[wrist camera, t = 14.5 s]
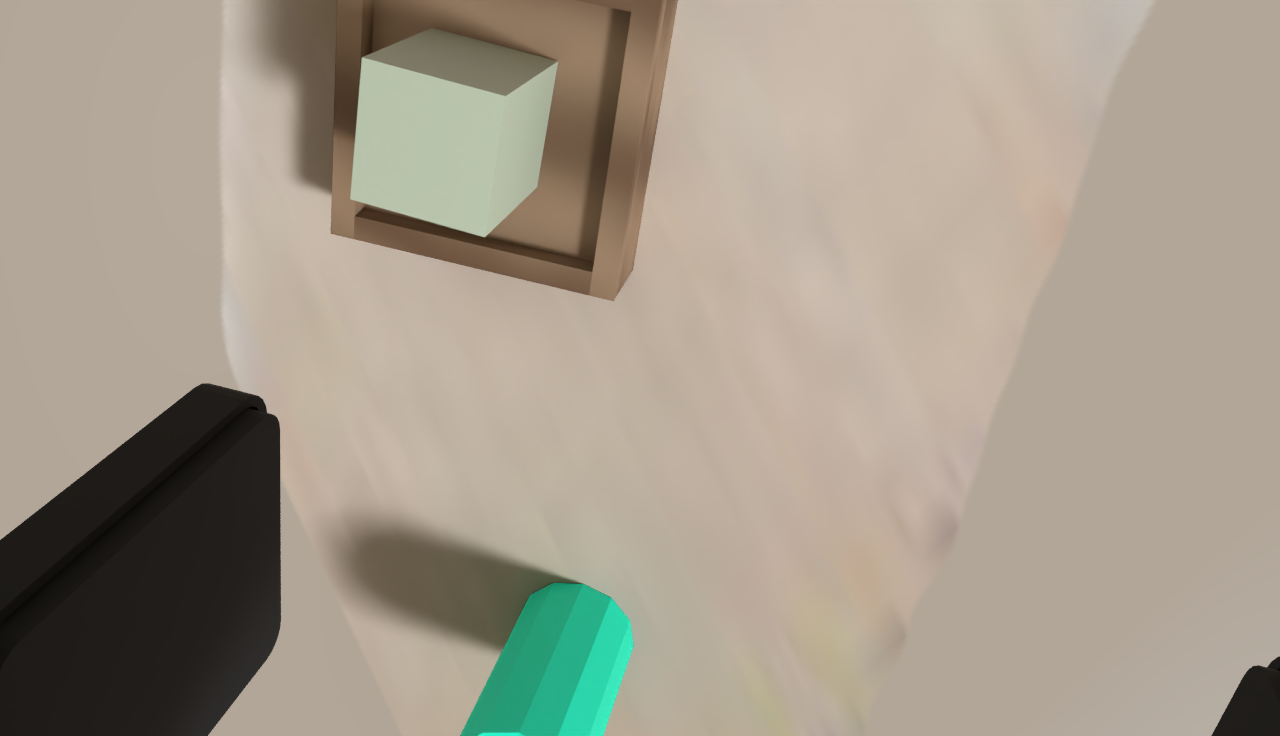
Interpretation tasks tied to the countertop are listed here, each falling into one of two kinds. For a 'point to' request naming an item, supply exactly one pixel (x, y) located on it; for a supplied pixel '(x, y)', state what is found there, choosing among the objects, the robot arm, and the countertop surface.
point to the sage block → (451, 129)
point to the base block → (574, 144)
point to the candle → (557, 667)
